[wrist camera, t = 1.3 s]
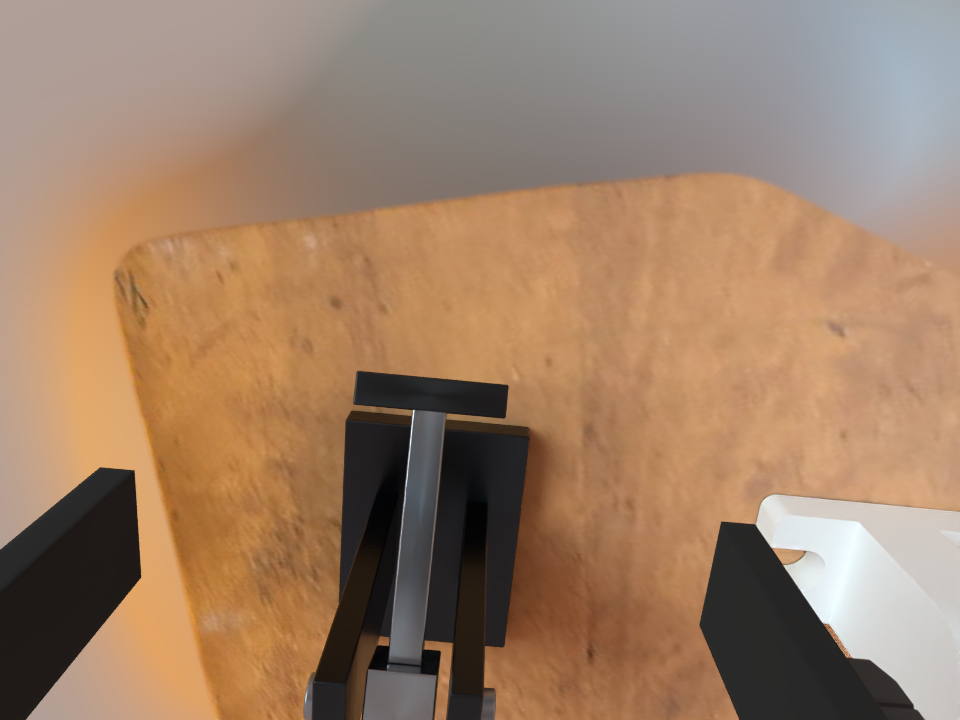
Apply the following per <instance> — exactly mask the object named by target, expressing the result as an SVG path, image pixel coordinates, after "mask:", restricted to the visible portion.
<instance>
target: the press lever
mask: <svg viewBox="0 0 960 720" xmlns="http://www.w3.org/2000/svg"><path fill="white" fill-rule="evenodd" d="M507 398H508V385H502V384H492V383H481V382H471V381H460V380H449V379H439V378H428V377H417V376H407V375H396V374H385V373H375V372H364V371H357V372H356V382H355V391H354V400H353V404H355V405H365V406H376V407H386V408H397V409H408V410H413V412H412V422H411V432H410V442H409V452H408V462H407V472H406V482H405V492H404V502H403V512H402V522H401V532H400V541H399V551H398V561H397V571H396V581H395V591H394V601H393V611H392V621H391V631H390V641H389V646H381V645H378V646H377V647H376V649H375V652H374V654H373V657H372V659H371V661H370V664H369V666H368V669H367V672H366V682H365V692H364V702H363V711H362V720H434V719H435V709H436V698H437V688H438V677H439V667H440V656H441V652H440V651H435V650H425V649H424V647H425V636H426V626H427V616H428V605H429V595H430V585H431V574H432V564H433V554H434V543H435V533H436V523H437V512H438V502H439V492H440V481H441V471H442V461H443V450H444V440H445V430H446V419H447V413H450V414H461V415H472V416H482V417H493V418H505V417H506V409H507Z"/></svg>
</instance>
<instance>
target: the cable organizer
mask: <svg viewBox="0 0 960 720" xmlns="http://www.w3.org/2000/svg"><path fill="white" fill-rule="evenodd" d="M756 526H757V528H758V529H759V531H760V532H761V533H762V535H763V536H764V538H765V539H766V541H767V542H768V544H769V545H770V547H773V548H783V549H794V550H805V551H806V553H805V555H804V556H803V557H802V558H801V559H800V560H799V561H797V562H795V563H793V564H789V565H783V566H784V567H785V569H786V570H787V572H788V573H789V575H790V576H791V577H792V579H793V580H794V582H795V583H796V585H797V586H798V588H799V589H800V591H801V592H802V594H803V595H804V597H805V598H806V599H807V601H808V602H809V604H810V605H811V607H812V608H813V610H814V611H815V613H816V614H817V616H818V617H819V619H820V620H821V621H822V623H825V624H829V625H830V626H831V627H832V629H833V630H834V632H835V633H836V635H837V636H838V638H839V639H840V641H841V642H842V644H843V645H844V646H845V648H846V649H847V651H848V652H849V654H850V655H851V657H852V658H857V659H869V660H871V661H872V662H873V663H874V664H876V665H877V666H878V667H879V668H881V669H882V670H883V671H884V672H886V673H887V674H888V675H889V676H890V677H892V678H893V679H894V680H895V681H896V682H897V683H898V684H899V686H900V687H901V688H902V690H903V691H904V692H905V694H906V695H907V696H908V698H909V699H910V700H911V702H912V703H913V704H914V709H915V710H918V711H919V712H920V714H921V715H922V717H923V718H924V719H925V720H960V512H957V511H946V510H935V509H925V508H914V507H904V506H893V505H882V504H872V503H861V502H851V501H840V500H829V499H819V498H808V497H798V496H787V495H771V496H768V497H767V498H765V499H764V500H763V501H762V503H761V505H760V509H759V514H758V518H757V522H756Z"/></svg>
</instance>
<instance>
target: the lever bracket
mask: <svg viewBox="0 0 960 720" xmlns="http://www.w3.org/2000/svg"><path fill="white" fill-rule="evenodd" d="M411 422H412V416H403V415H393V414H382V413H371V412H361V411H351V412H350V414H349V416H348V418H347V420H346V426H345V453H344V479H343V506H342V532H341V559H340V585H339V605H338V608H337V611H336V614H335V617H334V620H333V623H332V626H331V629H330V632H329V635H328V638H327V641H326V644H325V647H324V650H323V653H322V656H321V658H320V661H319V664H318V667H317V670H316V672H313V673H312V674H311V676H310V678H309V681H308V685H307V689H306V694H305V700H304V719H305V720H360V717H361V713H362V709H363V702H364V692H365V682H366V672H367V669H368V666H369V664H370V661H371V659H372V657H373V654H374V652H375V649H376V647H377V645H378V641H379V636H383V637H390V631H391V621H392V611H393V601H394V591H395V581H396V571H397V561H398V551H399V541H400V532H401V522H402V512H403V502H404V492H405V482H406V472H407V462H408V452H409V442H410V432H411ZM529 440H530V436H529V429H528V427H521V426H510V425H500V424H489V423H478V422H468V421H457V420H446V430H445V440H444V450H443V461H442V471H441V481H440V492H439V502H438V512H437V523H436V533H435V543H434V554H433V564H432V574H431V585H430V595H429V605H428V616H427V626H426V636H425V640H427V641H438V642H449V643H453V646H452V657H451V669H450V681H449V692H448V704H447V716H446V720H495V708H496V691H495V689H494V688H484V663H485V646H493V647H504V644H505V636H506V628H507V620H508V612H509V603H510V595H511V587H512V579H513V571H514V563H515V554H516V546H517V538H518V530H519V522H520V514H521V505H522V497H523V489H524V481H525V473H526V465H527V456H528V448H529Z"/></svg>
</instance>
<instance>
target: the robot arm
mask: <svg viewBox="0 0 960 720" xmlns="http://www.w3.org/2000/svg"><path fill="white" fill-rule="evenodd" d="M140 578H141V566H140V550H139V534H138V519H137V502H136V487H135V471H134V470H124V469H112V468H99V469H98V470H97V471H95V472H94V473H93V474H91V475H90V476H89V477H88V478H87V479H85V480H84V481H83V482H82V483H81V484H79V485H78V486H77V487H76V488H75V489H73V490H72V491H71V492H70V493H69V494H67V495H66V496H65V497H64V498H63V499H61V500H60V501H59V502H58V503H56V504H55V505H54V506H53V507H51V508H50V509H49V510H48V511H47V512H45V513H44V514H43V515H42V516H41V517H39V518H38V519H37V520H36V521H35V522H33V523H32V524H31V525H30V526H28V527H27V528H26V529H25V530H24V531H22V532H21V533H20V534H19V535H18V536H16V537H15V538H14V539H13V540H12V541H10V542H9V543H8V544H7V545H5V546H4V547H3V548H2V549H1V550H0V720H26V719H27V717H28V716H29V715H30V714H31V712H32V711H33V710H34V709H35V708H36V706H37V705H38V704H39V703H40V701H41V700H42V699H43V698H44V696H45V695H46V694H47V693H48V692H49V690H50V689H51V688H52V687H53V685H54V684H55V683H56V682H57V681H58V679H59V678H60V677H61V676H62V674H63V673H64V672H65V671H66V669H67V668H68V667H69V666H70V664H71V663H72V662H73V660H75V658H76V657H77V656H78V655H79V653H80V652H81V651H82V649H83V648H84V647H85V646H86V645H87V643H88V642H89V641H90V640H91V639H92V637H93V636H94V635H95V634H96V632H97V631H98V630H99V629H100V628H101V626H102V625H103V624H104V623H105V621H106V620H107V619H108V618H109V616H110V615H111V614H112V613H113V612H114V610H115V609H116V608H117V607H118V605H119V604H120V603H121V602H122V600H123V599H124V598H125V597H126V595H127V594H128V593H129V592H130V591H131V589H132V588H133V587H134V586H135V584H136V583H137V582H138V581H139V579H140ZM700 628H701V630H702V632H703V635H704V637H705V640H706V642H707V644H708V647H709V649H710V651H711V654H712V656H713V658H714V661H715V663H716V666H717V668H718V670H719V673H720V675H721V677H722V680H723V682H724V684H725V687H726V689H727V691H728V694H729V696H730V699H731V701H732V703H733V706H734V708H735V710H736V713H737V715H738V717H739V720H925V719H924V718H923V717H922V715H921V714H920V712H919V711H918V710H915V709H914V704H913V703H912V702H911V700H910V699H909V698H908V696H907V695H906V694H905V692H904V691H903V690H902V688H901V687H900V686H899V684H898V683H897V682H896V681H895V680H894V679H893V678H892V677H890V676H889V675H888V674H887V673H886V672H884V671H883V670H882V669H881V668H879V667H878V666H877V665H876V664H874V663H873V662H872V661H871V660H869V659H857V658H846V657H845V655H844V654H843V652H842V651H841V649H840V648H839V646H838V645H837V643H836V642H835V641H834V639H833V638H832V636H831V635H830V633H829V632H828V630H827V629H826V627H825V626H824V624H823V623H822V621H821V620H820V619H819V617H818V616H817V614H816V613H815V611H814V610H813V608H812V607H811V605H810V604H809V602H808V601H807V599H806V598H805V597H804V595H803V594H802V592H801V591H800V589H799V588H798V586H797V585H796V583H795V582H794V580H793V579H792V577H791V576H790V575H789V573H788V572H787V570H786V569H785V567H784V566H783V564H782V563H781V561H780V560H779V558H778V557H777V555H776V554H775V553H774V551H773V550H772V548H771V547H770V545H769V544H768V542H767V541H766V539H765V538H764V536H763V535H762V533H761V532H760V531H759V529H758V528H757V526H756V525H755V524H744V523H732V522H721V526H720V530H719V535H718V540H717V545H716V549H715V554H714V559H713V564H712V568H711V573H710V578H709V583H708V587H707V592H706V597H705V602H704V606H703V611H702V616H701V621H700Z"/></svg>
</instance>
